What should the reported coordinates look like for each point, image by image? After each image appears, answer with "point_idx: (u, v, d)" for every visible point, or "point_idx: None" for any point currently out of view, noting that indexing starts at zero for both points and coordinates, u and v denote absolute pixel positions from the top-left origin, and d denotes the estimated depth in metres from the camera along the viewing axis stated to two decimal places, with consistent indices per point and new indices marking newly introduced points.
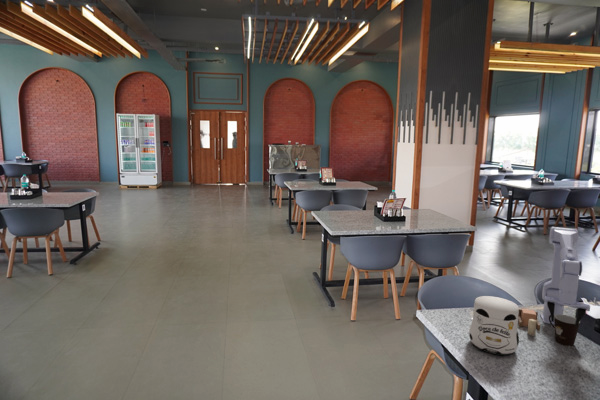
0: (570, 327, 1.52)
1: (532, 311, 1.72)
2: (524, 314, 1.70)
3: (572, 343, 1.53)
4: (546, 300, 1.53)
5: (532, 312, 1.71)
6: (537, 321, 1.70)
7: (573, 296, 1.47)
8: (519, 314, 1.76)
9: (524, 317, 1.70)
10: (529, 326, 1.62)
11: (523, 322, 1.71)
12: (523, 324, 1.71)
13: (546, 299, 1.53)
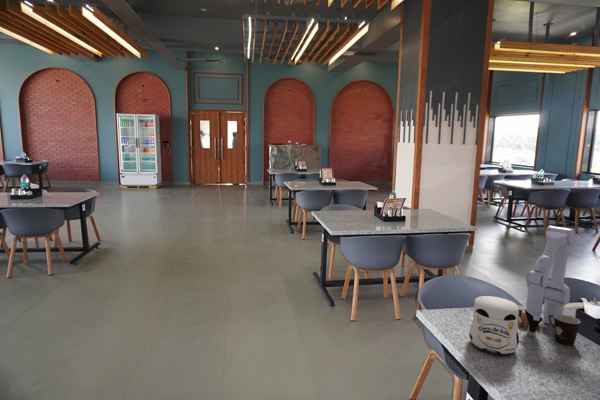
0: (570, 327, 1.52)
1: None
2: (524, 314, 1.70)
3: (572, 343, 1.53)
4: None
5: None
6: None
7: (529, 303, 1.60)
8: (519, 314, 1.76)
9: (524, 317, 1.70)
10: None
11: (523, 322, 1.71)
12: (523, 324, 1.71)
13: None
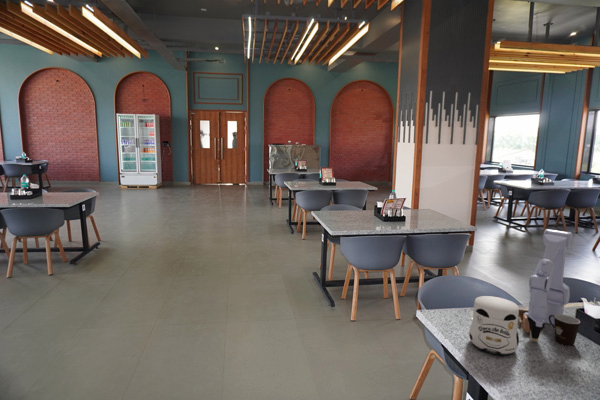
0: (570, 327, 1.52)
1: None
2: (526, 320, 1.65)
3: (572, 343, 1.53)
4: None
5: None
6: None
7: (531, 308, 1.55)
8: (519, 314, 1.76)
9: (526, 323, 1.65)
10: None
11: (525, 328, 1.65)
12: (525, 330, 1.65)
13: None
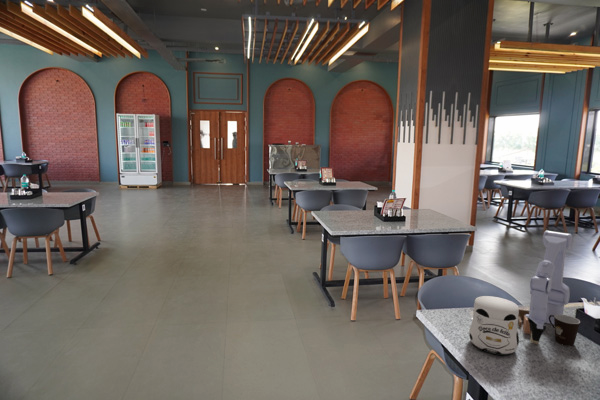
0: (570, 327, 1.52)
1: None
2: (527, 321, 1.63)
3: (572, 343, 1.53)
4: None
5: None
6: None
7: (532, 310, 1.53)
8: (519, 314, 1.76)
9: (527, 324, 1.63)
10: None
11: (526, 330, 1.63)
12: (526, 332, 1.64)
13: None
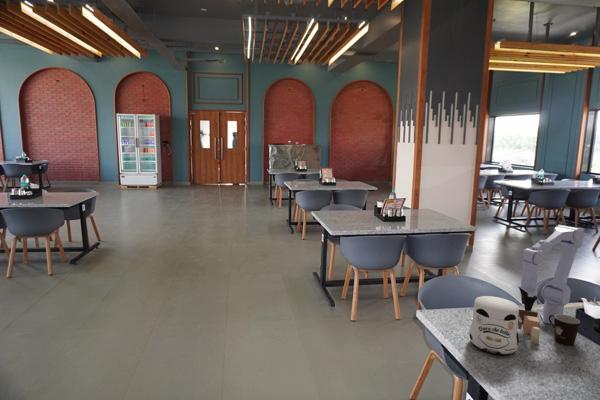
0: (570, 327, 1.52)
1: (535, 318, 1.65)
2: (527, 321, 1.63)
3: (572, 343, 1.53)
4: None
5: (535, 319, 1.63)
6: None
7: (524, 280, 1.64)
8: (519, 314, 1.76)
9: (527, 324, 1.63)
10: (532, 334, 1.55)
11: (526, 330, 1.63)
12: (526, 332, 1.64)
13: None
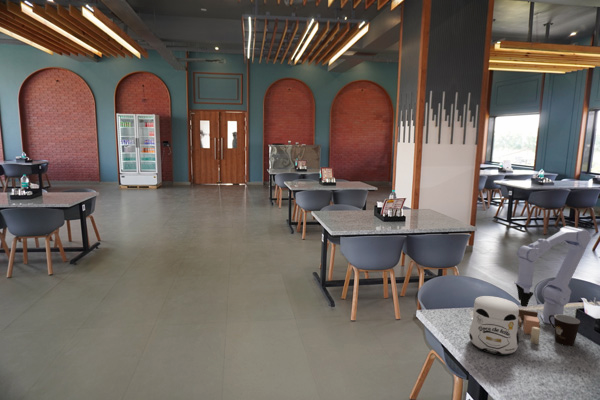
0: (570, 327, 1.52)
1: (535, 318, 1.65)
2: (527, 321, 1.63)
3: (572, 343, 1.53)
4: None
5: (535, 319, 1.63)
6: None
7: (520, 277, 1.68)
8: (519, 314, 1.76)
9: (527, 324, 1.63)
10: (532, 334, 1.55)
11: (526, 330, 1.63)
12: (526, 332, 1.64)
13: None
